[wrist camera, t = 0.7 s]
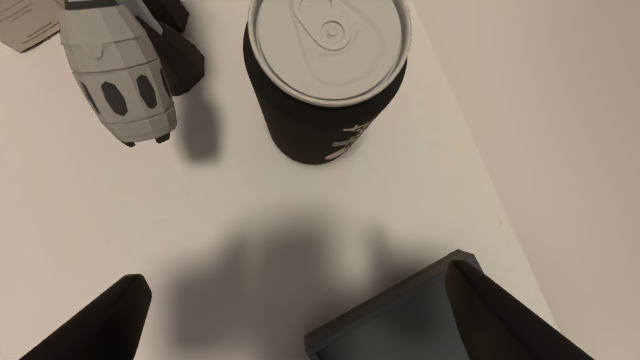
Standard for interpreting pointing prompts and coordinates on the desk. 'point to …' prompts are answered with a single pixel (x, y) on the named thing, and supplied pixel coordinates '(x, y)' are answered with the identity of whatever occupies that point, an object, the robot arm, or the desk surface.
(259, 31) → the beverage can
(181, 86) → the robot
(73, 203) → the desk surface
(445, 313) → the serving tray
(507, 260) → the desk surface
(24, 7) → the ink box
